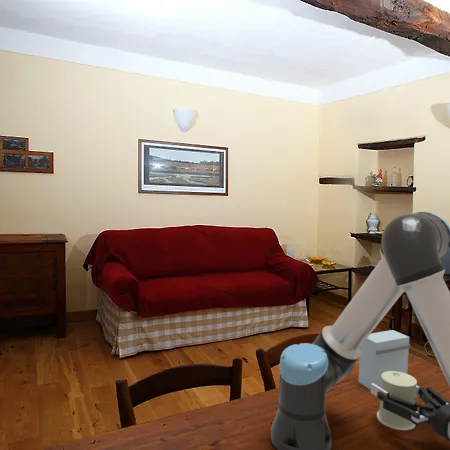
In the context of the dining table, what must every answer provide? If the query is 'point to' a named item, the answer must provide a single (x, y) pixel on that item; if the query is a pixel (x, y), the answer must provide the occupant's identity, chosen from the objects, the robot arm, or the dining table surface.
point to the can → (397, 395)
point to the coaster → (394, 426)
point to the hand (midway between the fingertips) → (385, 384)
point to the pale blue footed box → (382, 356)
